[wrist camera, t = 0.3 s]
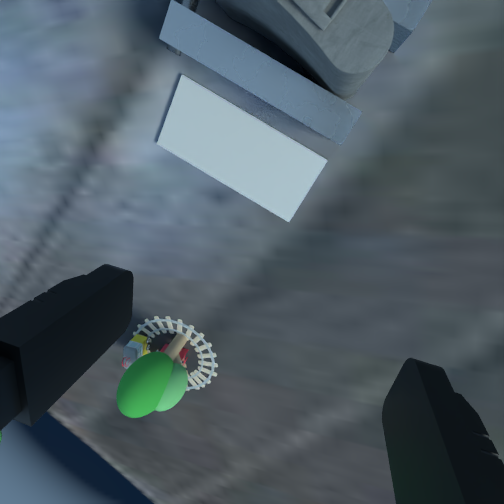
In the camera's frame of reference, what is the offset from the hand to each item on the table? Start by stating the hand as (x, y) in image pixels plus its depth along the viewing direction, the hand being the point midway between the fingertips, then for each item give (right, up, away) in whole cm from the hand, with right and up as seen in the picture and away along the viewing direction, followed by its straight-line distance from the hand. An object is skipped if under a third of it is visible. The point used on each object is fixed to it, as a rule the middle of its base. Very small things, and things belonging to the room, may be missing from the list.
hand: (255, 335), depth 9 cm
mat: (-2, +14, +26) cm, 30 cm away
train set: (-12, -14, +40) cm, 44 cm away
